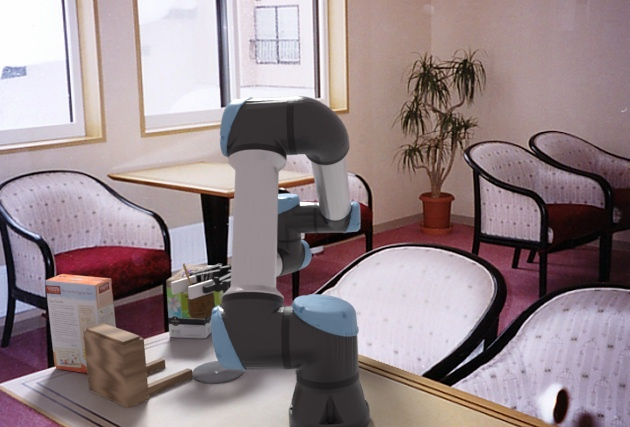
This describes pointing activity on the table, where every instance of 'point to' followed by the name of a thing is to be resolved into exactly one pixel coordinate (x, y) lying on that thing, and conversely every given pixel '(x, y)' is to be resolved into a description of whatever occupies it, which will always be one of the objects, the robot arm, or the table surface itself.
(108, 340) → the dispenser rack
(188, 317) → the tea box
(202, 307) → the utensil holder
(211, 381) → the plate
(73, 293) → the cracker box
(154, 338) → the table surface
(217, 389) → the table surface
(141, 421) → the table surface
